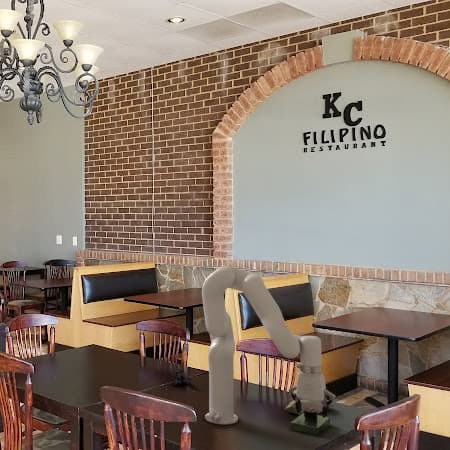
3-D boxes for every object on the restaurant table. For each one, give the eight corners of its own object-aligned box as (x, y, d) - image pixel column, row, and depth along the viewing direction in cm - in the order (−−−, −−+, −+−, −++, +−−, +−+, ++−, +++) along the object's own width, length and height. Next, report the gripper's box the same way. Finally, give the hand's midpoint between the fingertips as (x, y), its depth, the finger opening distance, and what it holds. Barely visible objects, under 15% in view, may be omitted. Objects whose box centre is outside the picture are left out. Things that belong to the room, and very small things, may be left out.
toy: (180, 388, 284) (166, 380, 298) (195, 388, 286) (181, 380, 301) (181, 374, 284) (167, 367, 299) (196, 374, 287) (182, 367, 301)
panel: (317, 435, 224) (318, 427, 224) (290, 430, 230) (290, 421, 230) (330, 425, 235) (330, 417, 235) (303, 420, 241) (303, 412, 241)
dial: (315, 422, 229) (315, 412, 229) (302, 420, 232) (302, 409, 232) (319, 419, 233) (319, 409, 233) (306, 416, 236) (306, 406, 236)
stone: (290, 405, 245) (282, 390, 254) (286, 418, 247) (278, 403, 257) (340, 409, 247) (330, 394, 256) (336, 422, 249) (326, 406, 259)
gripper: (285, 368, 235) (285, 412, 235) (331, 374, 224) (332, 421, 224) (292, 364, 241) (292, 407, 241) (337, 370, 230) (338, 415, 230)
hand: (311, 414), depth 233 cm, fingers open, 9 cm apart
